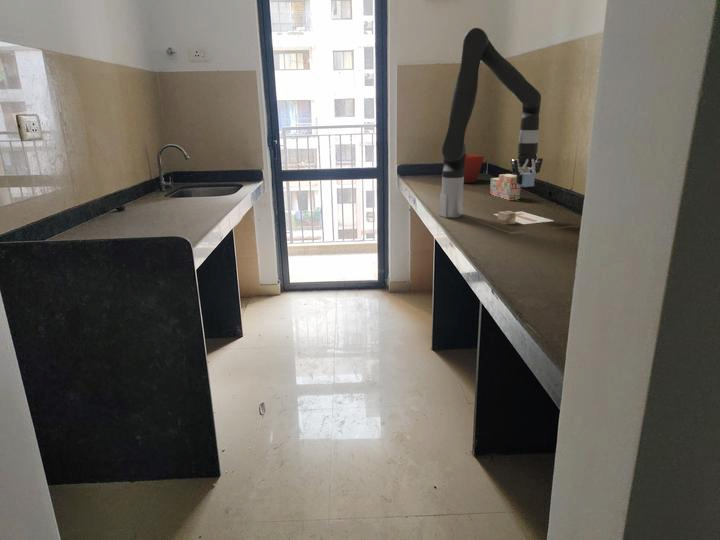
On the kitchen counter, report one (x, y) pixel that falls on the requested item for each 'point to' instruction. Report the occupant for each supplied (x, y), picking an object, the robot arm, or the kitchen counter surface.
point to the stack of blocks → (505, 187)
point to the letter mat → (528, 218)
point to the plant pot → (472, 167)
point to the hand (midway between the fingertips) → (525, 183)
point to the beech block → (506, 217)
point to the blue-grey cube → (527, 180)
